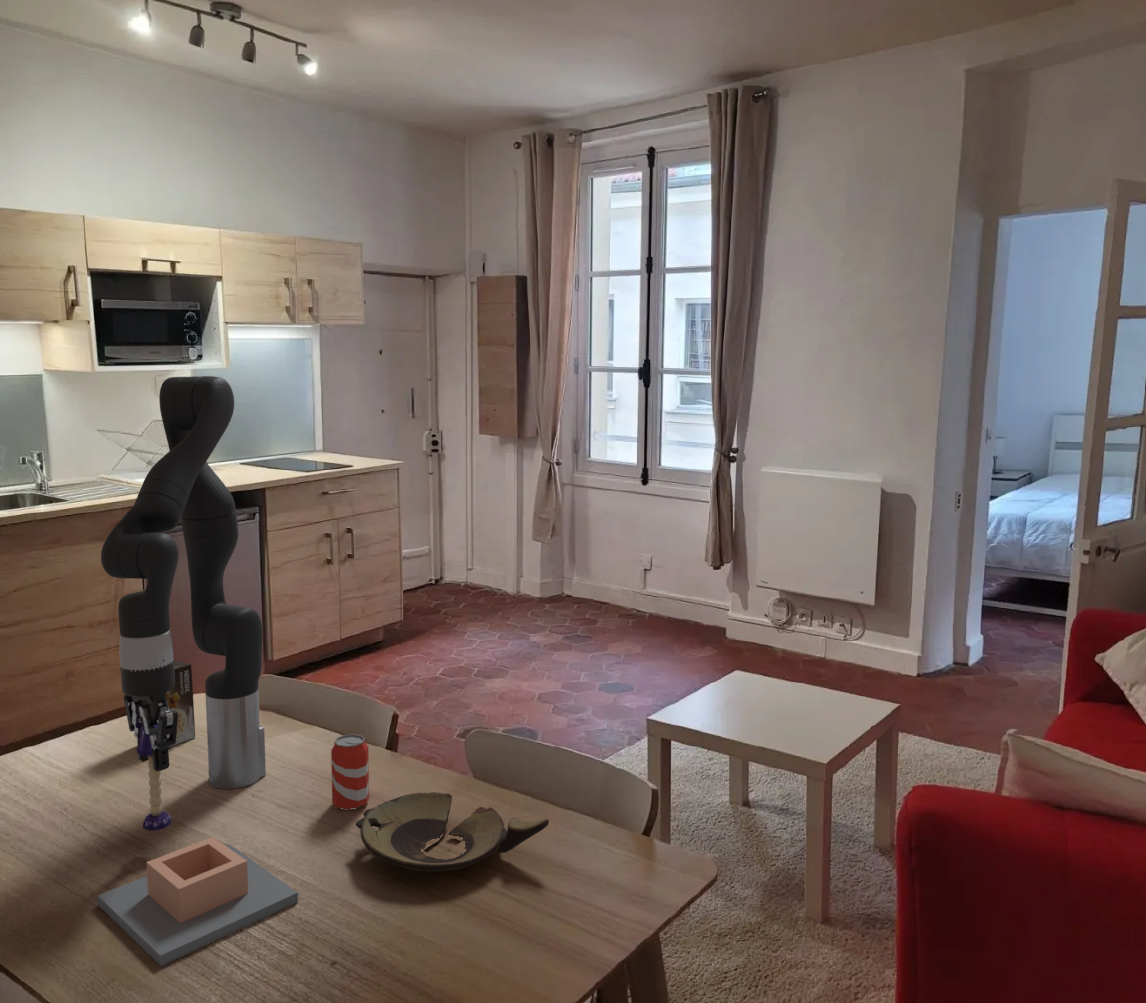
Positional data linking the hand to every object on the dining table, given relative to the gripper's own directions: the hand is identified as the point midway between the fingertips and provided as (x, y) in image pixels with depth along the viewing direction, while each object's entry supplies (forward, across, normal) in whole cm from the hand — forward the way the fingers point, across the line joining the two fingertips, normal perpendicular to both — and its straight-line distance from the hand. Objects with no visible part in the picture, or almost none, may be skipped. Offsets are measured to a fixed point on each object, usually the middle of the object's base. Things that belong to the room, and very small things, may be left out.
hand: (153, 763), depth 145 cm
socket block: (+15, -18, +3) cm, 24 cm away
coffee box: (+16, +42, -21) cm, 49 cm away
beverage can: (+16, -8, -30) cm, 35 cm away
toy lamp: (+11, 0, 0) cm, 11 cm away
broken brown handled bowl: (+16, -34, -30) cm, 48 cm away
